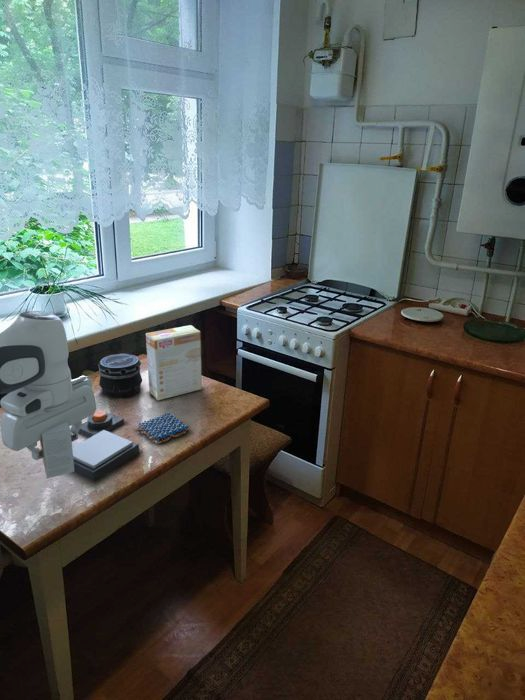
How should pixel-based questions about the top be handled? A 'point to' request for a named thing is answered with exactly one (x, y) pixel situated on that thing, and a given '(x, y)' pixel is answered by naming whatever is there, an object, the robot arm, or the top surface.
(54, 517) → the top surface
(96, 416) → the tare button
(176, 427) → the woven mat
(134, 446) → the scale
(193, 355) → the coffeecake box
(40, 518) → the top surface
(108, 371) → the container
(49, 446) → the small box
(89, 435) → the dark grey button base
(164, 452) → the top surface
